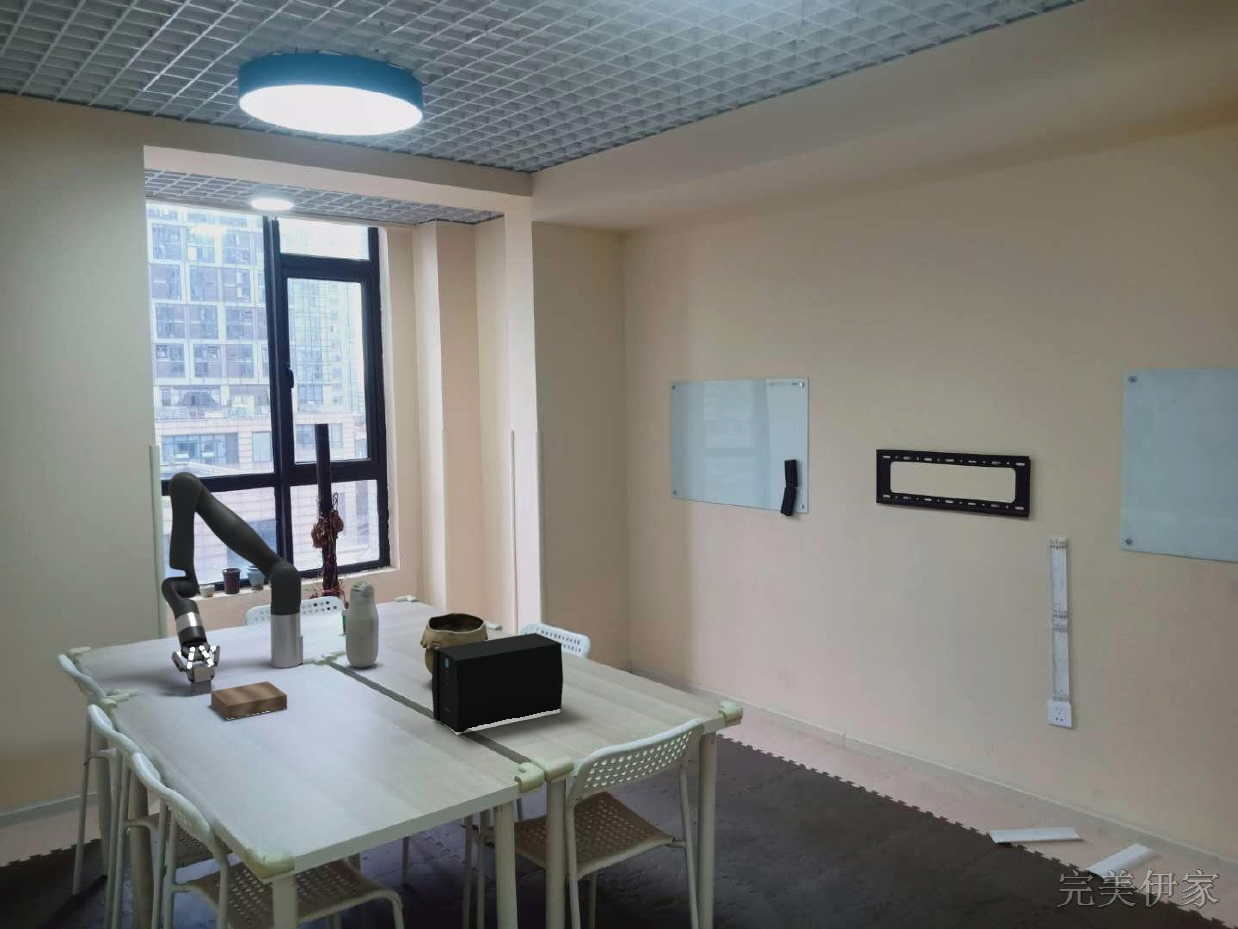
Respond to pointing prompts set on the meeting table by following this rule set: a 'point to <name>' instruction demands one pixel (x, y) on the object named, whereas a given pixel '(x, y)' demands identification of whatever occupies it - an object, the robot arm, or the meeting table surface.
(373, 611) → the grey bottle
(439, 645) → the clay pot
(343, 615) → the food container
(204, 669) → the block
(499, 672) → the uninterruptible power supply
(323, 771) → the meeting table surface
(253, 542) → the robot arm
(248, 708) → the walnut stand
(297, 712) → the meeting table surface
